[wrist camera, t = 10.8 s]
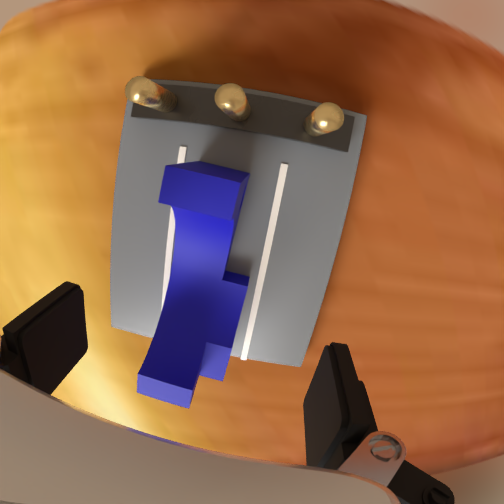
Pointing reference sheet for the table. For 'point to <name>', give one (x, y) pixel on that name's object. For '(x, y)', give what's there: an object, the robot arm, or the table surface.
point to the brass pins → (241, 112)
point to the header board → (247, 231)
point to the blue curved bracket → (197, 282)
